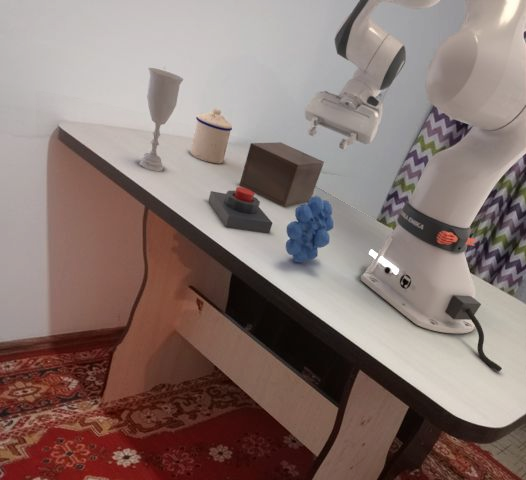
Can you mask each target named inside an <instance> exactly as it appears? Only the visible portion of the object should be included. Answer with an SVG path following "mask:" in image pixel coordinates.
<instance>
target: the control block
mask: <svg viewBox="0 0 526 480" xmlns="http://www.w3.org/2000/svg"><path fill="white" fill-rule="evenodd" d="M235 191H236V190H227V192H226V193H224V192H219V191H213V190H210V193H209V197H208V203H209V205H210V206H211V208H212V209H213V211H214V212H215V213H216V215H217V217H218V218H219V219H220V221H221V222H222V224H223V225H224V227H225V228H229V229H236V230H243V231H251V232H257V233H264V234H270V232H271V229H272V226H273V222H272V220H271V219H270V218H269V217H268V216H267V214H266V213H265V212H264V211H263V209H261V208H260V205H261V201H260V200H259V199H258V197H255V196H254V197H253V200H252V202H246V201H242V200H239V199H237V198H236V197H234V194H235Z"/></svg>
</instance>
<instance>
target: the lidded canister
mask: <svg viewBox="0 0 526 480" xmlns="http://www.w3.org/2000/svg"><path fill="white" fill-rule="evenodd" d="M195 119H196V123H195V128H194V132H193V138H192V143H191V147H190V154H191V155H192V156H193V157H195V158H196V159H198V160H201V161H204V162H206V163H212V164H222V163H223V162H224V159H225V156H226V151H227V147H228V143H229V139H230V134H231V131H232V130H233V128H232V127H233V126H232V124H231V123H230V122H229V121H228V120H227V119H226V118H225V117H224V116H223V115H222V110H220V109H219V108H216V107H215V108H213V109H212V111H207V112H206V113H199V114H197V116H196V117H195Z"/></svg>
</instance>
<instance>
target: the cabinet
mask: <svg viewBox="0 0 526 480" xmlns="http://www.w3.org/2000/svg"><path fill="white" fill-rule="evenodd" d="M324 163H325V161H324V160H321V159H319V158H317V157H314V156H313V155H310V154H308V153H305V152H303V151H301V150H299V149H296V148H294V147H292V146H290V145H287V144H286V143H283V142H281V141H280V142H279V141H278V142H250V144H249V148H248V152H247V155H246V160H245V163H244V167H243V170H242V174H241V179H240V182H239V187H243V188H247V189H249V190H251V191H253V192H254V194H257V195H258V196H261V197H263V198H265V199H267V200H269V201H271V202H273V203H274V204H277V205H278V206H281V207H283V208H286V207H287V208H288V207H290V206H294V205H298V204H301V203H305V202H308V200H309V199H310V198H312V197H313V194H314V192H313V191H315V189H316V185H317V183H318V180H319V178H318V177H320V175H321V172H322V169H323V167H322V166H324ZM314 188H315V189H314Z"/></svg>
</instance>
